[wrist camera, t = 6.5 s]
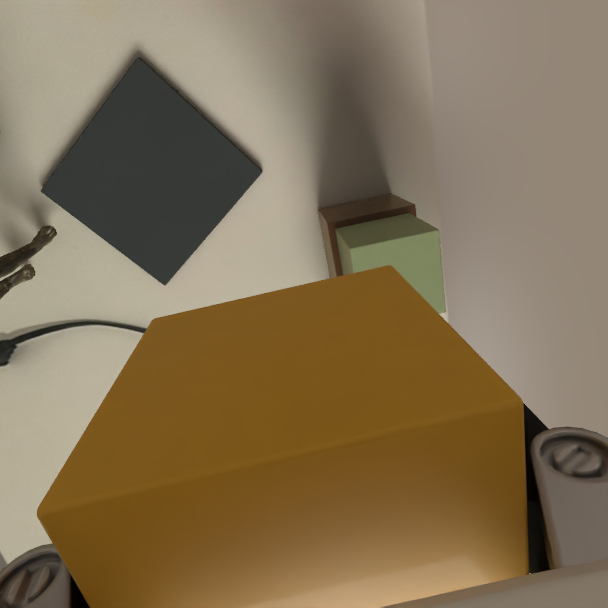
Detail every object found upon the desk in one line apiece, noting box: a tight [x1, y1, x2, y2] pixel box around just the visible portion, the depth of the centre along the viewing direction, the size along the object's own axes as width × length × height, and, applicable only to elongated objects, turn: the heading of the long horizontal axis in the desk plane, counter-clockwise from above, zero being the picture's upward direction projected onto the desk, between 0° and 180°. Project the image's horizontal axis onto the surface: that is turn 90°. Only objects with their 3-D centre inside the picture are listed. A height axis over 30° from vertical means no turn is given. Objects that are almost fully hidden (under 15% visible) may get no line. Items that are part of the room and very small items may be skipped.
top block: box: [37, 265, 529, 608], centre depth 9 cm, size 6×6×6 cm
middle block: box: [335, 213, 446, 314], centre depth 30 cm, size 6×6×6 cm
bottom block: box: [318, 193, 416, 278], centre depth 36 cm, size 6×6×6 cm
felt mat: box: [41, 57, 262, 285], centre depth 36 cm, size 13×12×1 cm
